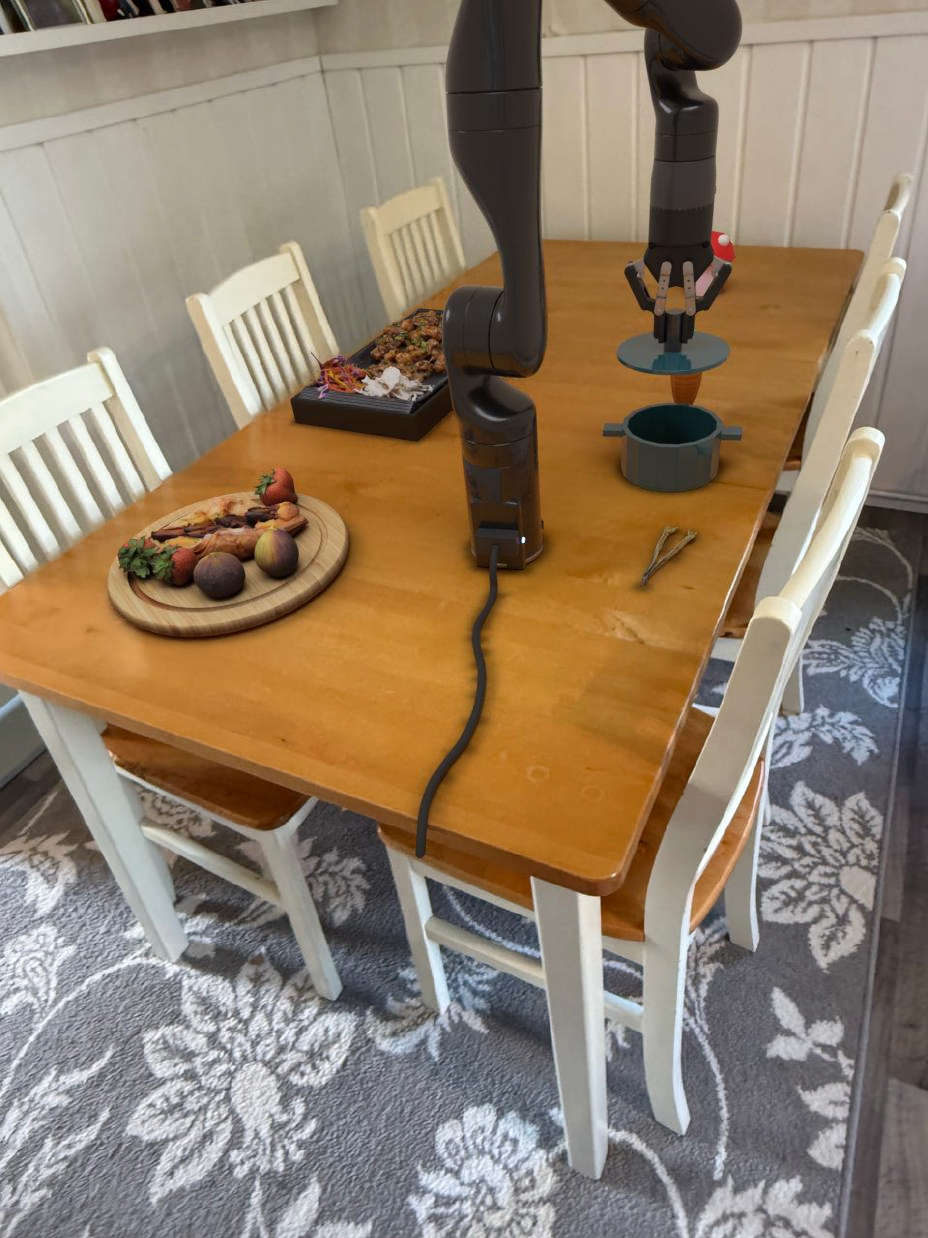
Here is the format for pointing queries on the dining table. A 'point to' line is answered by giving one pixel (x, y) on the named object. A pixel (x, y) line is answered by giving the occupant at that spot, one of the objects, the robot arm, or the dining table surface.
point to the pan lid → (673, 350)
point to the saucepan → (671, 446)
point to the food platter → (383, 383)
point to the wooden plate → (229, 561)
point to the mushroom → (722, 251)
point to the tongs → (652, 568)
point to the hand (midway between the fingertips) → (673, 340)
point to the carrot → (685, 386)
